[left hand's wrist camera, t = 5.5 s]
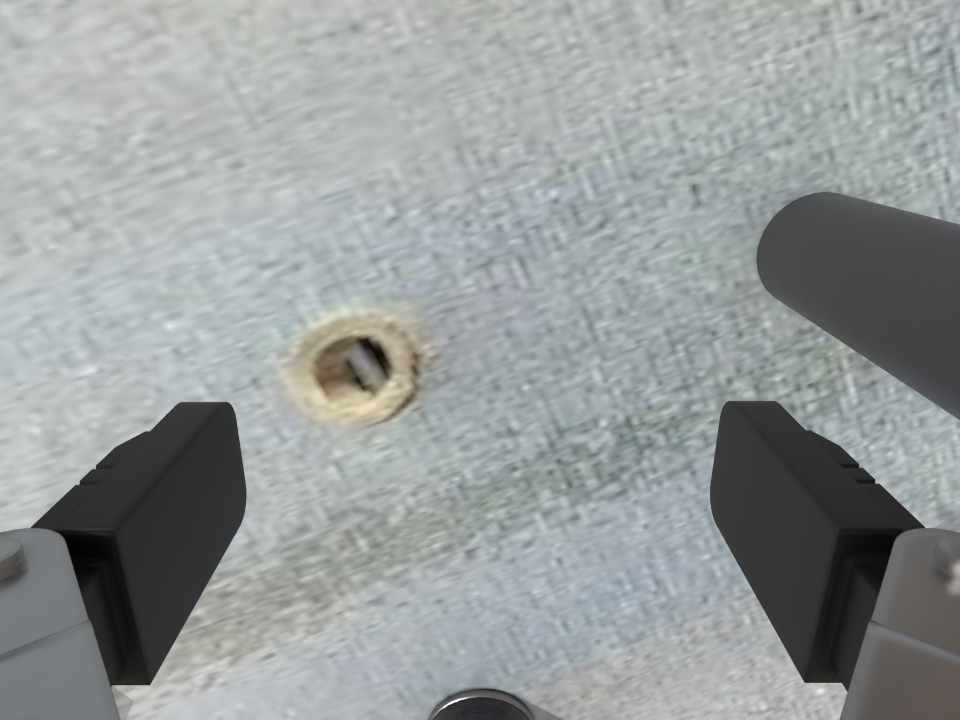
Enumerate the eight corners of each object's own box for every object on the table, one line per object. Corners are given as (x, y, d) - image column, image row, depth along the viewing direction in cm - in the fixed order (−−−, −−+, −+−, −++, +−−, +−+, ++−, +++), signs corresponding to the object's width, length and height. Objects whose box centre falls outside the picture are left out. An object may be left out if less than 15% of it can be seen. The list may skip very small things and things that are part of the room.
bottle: (804, 328, 45) (1165, 580, 21) (732, 255, 43) (1039, 441, 19) (897, 247, 43) (1408, 425, 19) (826, 166, 41) (1293, 253, 17)
